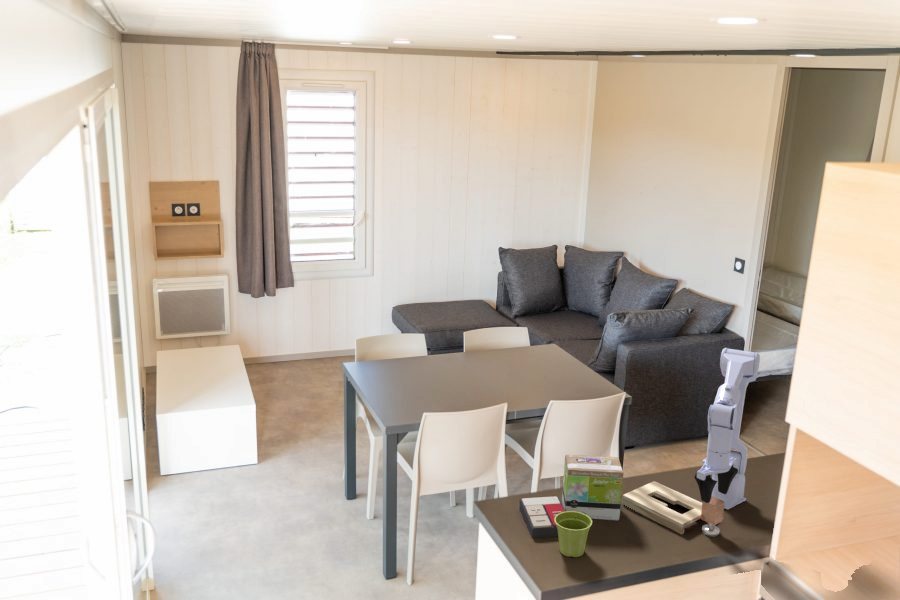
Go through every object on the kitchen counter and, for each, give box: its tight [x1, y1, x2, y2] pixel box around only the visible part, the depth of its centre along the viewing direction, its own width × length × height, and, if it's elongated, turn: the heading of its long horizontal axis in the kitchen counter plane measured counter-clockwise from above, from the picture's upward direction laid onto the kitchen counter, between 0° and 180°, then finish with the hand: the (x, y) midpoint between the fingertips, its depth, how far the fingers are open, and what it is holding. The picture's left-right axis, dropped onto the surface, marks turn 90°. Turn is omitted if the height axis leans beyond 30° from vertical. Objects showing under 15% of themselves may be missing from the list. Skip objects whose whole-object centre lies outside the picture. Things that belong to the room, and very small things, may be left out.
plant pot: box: [554, 511, 593, 558], centre depth 200 cm, size 9×9×9 cm
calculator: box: [519, 496, 565, 539], centre depth 214 cm, size 11×4×15 cm
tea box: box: [561, 454, 624, 522], centre depth 219 cm, size 15×10×15 cm, turn 87°
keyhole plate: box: [621, 480, 702, 535], centre depth 220 cm, size 14×20×3 cm
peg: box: [700, 496, 725, 538], centre depth 209 cm, size 4×4×9 cm
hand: (714, 497), depth 208 cm, fingers open, 7 cm apart
